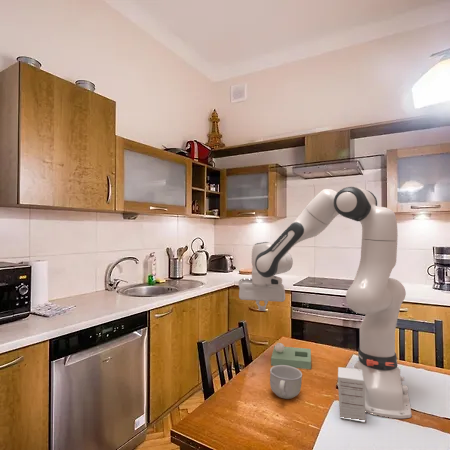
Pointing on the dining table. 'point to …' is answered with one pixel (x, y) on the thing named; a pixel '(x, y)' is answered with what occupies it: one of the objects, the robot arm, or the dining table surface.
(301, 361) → the putting deck
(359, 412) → the supplement box
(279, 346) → the ball
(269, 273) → the robot arm
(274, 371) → the teacup
